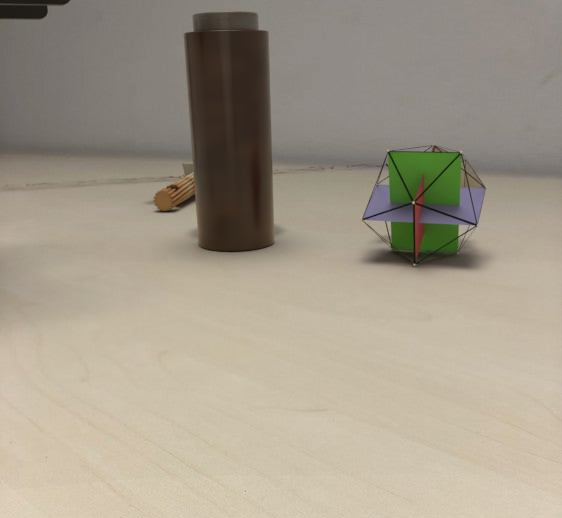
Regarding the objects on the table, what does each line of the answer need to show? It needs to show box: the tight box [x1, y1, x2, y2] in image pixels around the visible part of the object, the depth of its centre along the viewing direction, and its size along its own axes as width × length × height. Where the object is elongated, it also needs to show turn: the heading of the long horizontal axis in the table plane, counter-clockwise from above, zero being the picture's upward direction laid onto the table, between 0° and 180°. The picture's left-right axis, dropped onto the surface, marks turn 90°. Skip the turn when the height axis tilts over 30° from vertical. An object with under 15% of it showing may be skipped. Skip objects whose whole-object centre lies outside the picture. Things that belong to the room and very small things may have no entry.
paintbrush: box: [153, 162, 195, 212], centre depth 68 cm, size 4×3×20 cm
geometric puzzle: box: [360, 143, 488, 267], centre depth 42 cm, size 7×7×8 cm
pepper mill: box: [183, 10, 275, 252], centre depth 45 cm, size 5×5×14 cm
